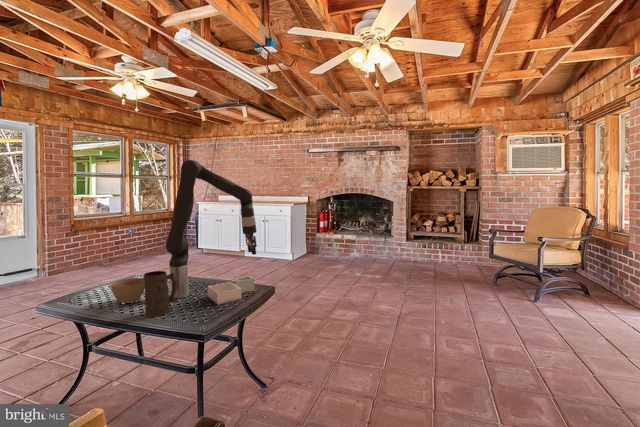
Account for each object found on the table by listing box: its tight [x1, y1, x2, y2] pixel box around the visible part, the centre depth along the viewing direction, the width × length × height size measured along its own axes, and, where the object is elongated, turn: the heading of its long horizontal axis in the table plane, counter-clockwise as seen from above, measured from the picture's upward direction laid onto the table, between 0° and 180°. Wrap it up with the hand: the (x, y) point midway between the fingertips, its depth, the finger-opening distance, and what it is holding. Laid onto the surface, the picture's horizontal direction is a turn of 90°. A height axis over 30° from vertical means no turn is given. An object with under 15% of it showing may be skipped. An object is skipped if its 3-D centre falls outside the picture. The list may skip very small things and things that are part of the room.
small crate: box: [234, 275, 256, 294], centre depth 200 cm, size 9×6×7 cm
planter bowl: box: [110, 277, 145, 303], centre depth 185 cm, size 16×16×11 cm
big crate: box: [207, 281, 243, 306], centre depth 187 cm, size 13×16×6 cm
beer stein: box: [143, 270, 177, 318], centre depth 169 cm, size 15×11×20 cm
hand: (252, 253), depth 196 cm, fingers open, 8 cm apart
